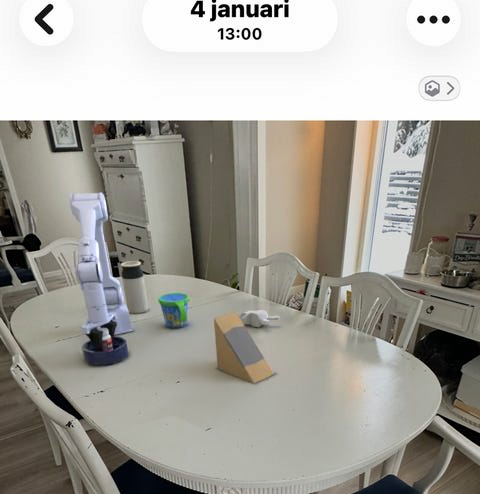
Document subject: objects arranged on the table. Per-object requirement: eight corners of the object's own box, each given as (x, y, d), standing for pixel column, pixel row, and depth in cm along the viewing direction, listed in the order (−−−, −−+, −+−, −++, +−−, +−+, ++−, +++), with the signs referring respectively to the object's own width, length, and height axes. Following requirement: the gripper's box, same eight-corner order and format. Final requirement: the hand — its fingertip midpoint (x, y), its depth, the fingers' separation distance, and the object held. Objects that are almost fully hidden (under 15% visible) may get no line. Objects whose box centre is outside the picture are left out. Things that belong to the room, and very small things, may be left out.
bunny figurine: (251, 306, 171) (282, 309, 161) (252, 320, 173) (283, 324, 163) (232, 313, 165) (263, 316, 155) (234, 327, 168) (265, 331, 158)
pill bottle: (113, 358, 144) (108, 331, 139) (97, 359, 143) (92, 333, 139) (115, 352, 148) (110, 326, 143) (99, 353, 147) (94, 327, 143)
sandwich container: (254, 384, 126) (252, 330, 118) (216, 368, 136) (213, 318, 128) (275, 373, 131) (275, 321, 123) (237, 359, 141) (235, 310, 133)
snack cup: (197, 329, 164) (194, 300, 159) (168, 334, 161) (164, 305, 155) (184, 316, 176) (181, 289, 171) (157, 321, 173) (153, 293, 168)
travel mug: (152, 309, 186) (145, 262, 176) (138, 315, 180) (131, 266, 170) (137, 306, 189) (130, 260, 180) (123, 312, 184) (115, 264, 174)
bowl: (121, 346, 153) (118, 333, 151) (134, 359, 143) (132, 345, 141) (80, 355, 148) (77, 341, 146) (91, 370, 138) (87, 355, 136)
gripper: (100, 296, 144) (108, 338, 151) (68, 310, 133) (79, 355, 140) (119, 298, 141) (126, 341, 149) (88, 313, 130) (98, 358, 138)
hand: (105, 348), depth 144 cm, fingers closed on pill bottle, 5 cm apart
